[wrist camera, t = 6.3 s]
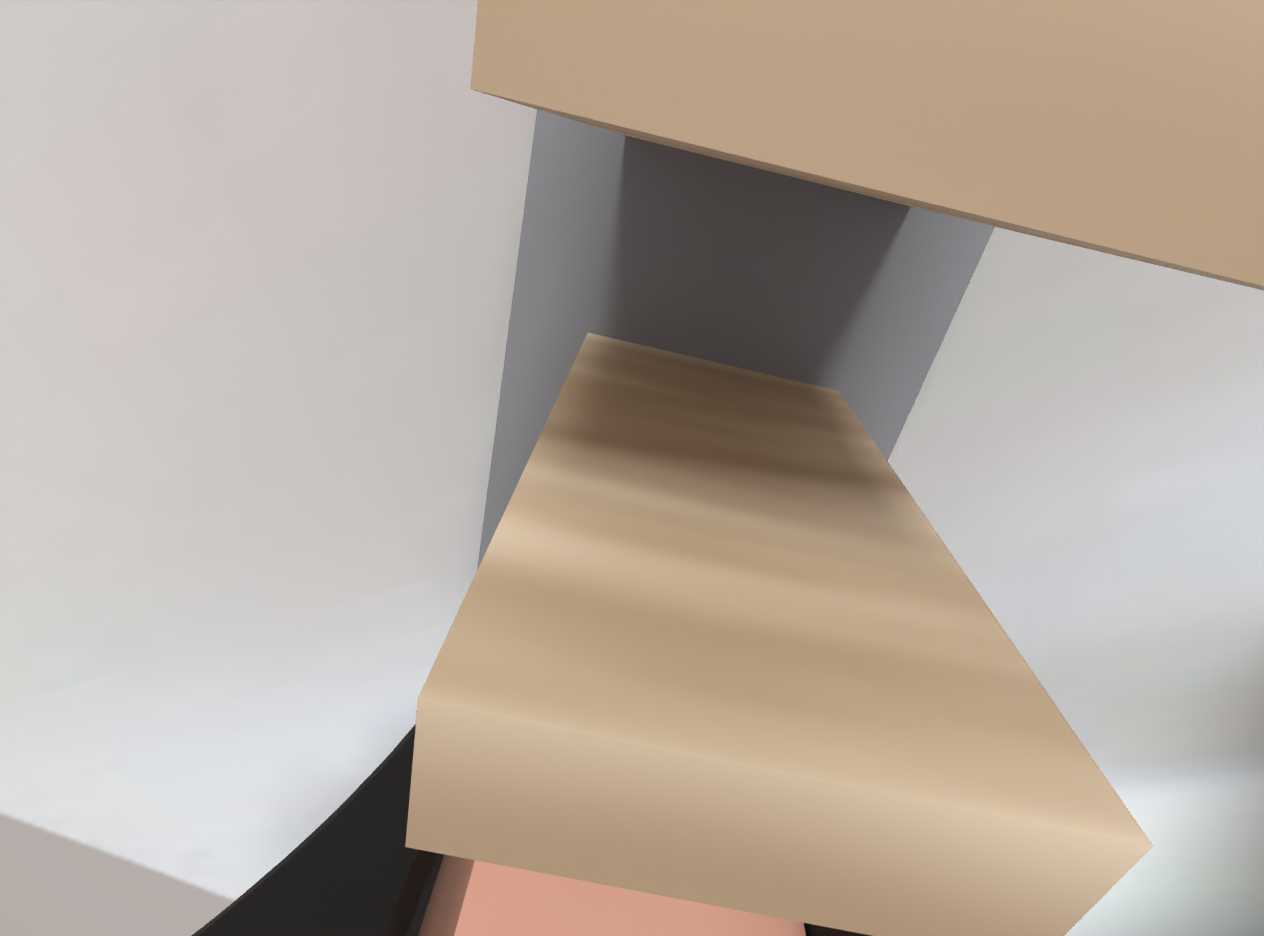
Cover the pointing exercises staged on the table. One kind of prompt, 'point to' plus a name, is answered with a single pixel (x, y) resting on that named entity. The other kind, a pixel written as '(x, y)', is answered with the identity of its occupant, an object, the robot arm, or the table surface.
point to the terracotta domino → (572, 908)
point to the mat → (719, 280)
